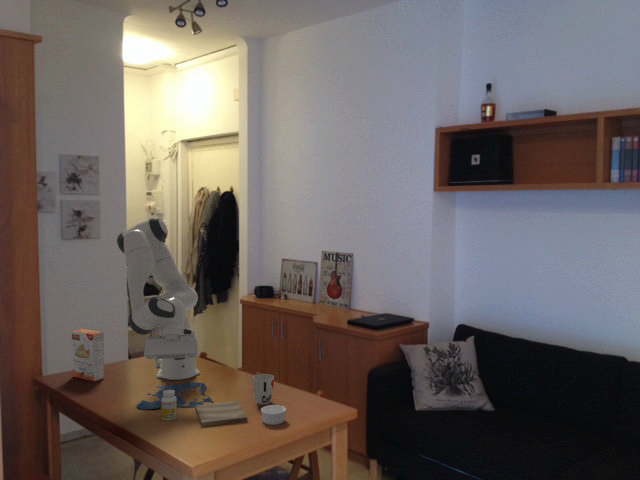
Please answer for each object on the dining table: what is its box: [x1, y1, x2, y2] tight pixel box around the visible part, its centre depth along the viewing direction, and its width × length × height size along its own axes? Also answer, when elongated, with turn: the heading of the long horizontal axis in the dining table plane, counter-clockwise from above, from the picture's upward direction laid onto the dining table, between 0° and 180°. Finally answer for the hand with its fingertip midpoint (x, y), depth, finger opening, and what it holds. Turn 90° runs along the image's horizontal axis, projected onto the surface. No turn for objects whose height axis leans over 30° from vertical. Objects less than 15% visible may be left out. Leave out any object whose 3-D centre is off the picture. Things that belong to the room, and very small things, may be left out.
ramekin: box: [260, 404, 287, 426], centre depth 207 cm, size 9×9×4 cm
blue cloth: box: [136, 381, 214, 410], centre depth 234 cm, size 27×29×1 cm
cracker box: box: [71, 328, 105, 382], centre depth 256 cm, size 14×6×21 cm, turn 60°
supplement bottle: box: [160, 390, 178, 421], centre depth 209 cm, size 5×5×10 cm
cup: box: [252, 373, 275, 405], centre depth 226 cm, size 8×8×10 cm
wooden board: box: [194, 400, 248, 427], centre depth 212 cm, size 18×16×2 cm
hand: (170, 367), depth 220 cm, fingers open, 8 cm apart
